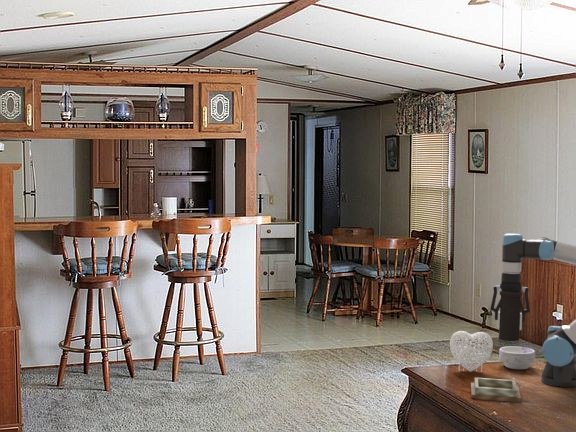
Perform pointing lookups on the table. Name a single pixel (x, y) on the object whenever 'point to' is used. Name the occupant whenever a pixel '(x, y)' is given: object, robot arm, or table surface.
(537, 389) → the table surface
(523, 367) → the paper bowls
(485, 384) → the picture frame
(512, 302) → the container
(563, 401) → the table surface
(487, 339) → the decorative heart
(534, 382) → the table surface
